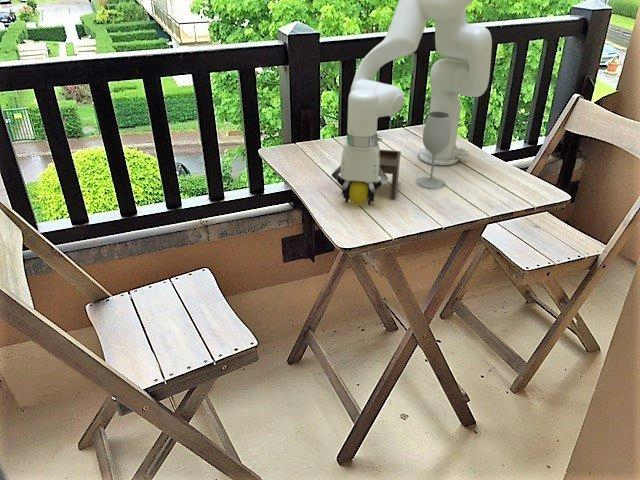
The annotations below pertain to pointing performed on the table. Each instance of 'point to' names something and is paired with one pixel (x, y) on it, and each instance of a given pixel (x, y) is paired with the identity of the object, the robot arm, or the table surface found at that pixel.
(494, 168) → the table surface
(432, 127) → the wineglass
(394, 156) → the shelf
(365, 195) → the lemon
